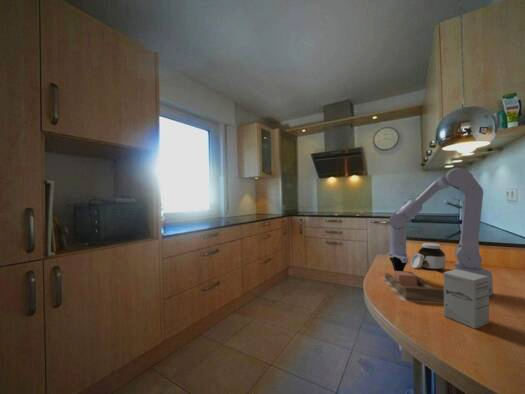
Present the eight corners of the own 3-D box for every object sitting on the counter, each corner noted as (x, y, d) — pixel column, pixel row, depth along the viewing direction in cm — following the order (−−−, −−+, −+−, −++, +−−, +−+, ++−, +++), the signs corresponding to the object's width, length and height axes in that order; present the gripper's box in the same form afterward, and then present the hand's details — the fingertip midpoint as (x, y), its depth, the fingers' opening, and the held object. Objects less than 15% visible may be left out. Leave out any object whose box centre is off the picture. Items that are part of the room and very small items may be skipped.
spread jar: (448, 271, 104) (448, 245, 104) (432, 274, 100) (432, 247, 100) (422, 264, 115) (421, 241, 115) (406, 267, 111) (406, 243, 111)
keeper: (394, 280, 91) (394, 270, 91) (411, 281, 90) (411, 271, 90) (399, 285, 86) (399, 275, 86) (417, 286, 85) (416, 275, 85)
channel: (380, 278, 95) (380, 267, 95) (418, 280, 92) (418, 269, 92) (401, 302, 74) (401, 288, 74) (451, 306, 71) (451, 291, 71)
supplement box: (442, 316, 65) (441, 271, 65) (458, 311, 68) (457, 268, 68) (475, 330, 58) (474, 280, 58) (490, 323, 61) (489, 275, 61)
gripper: (382, 239, 102) (382, 269, 102) (393, 246, 88) (394, 281, 88) (399, 239, 101) (400, 270, 101) (414, 246, 87) (414, 282, 87)
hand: (398, 275), depth 94 cm, fingers closed
